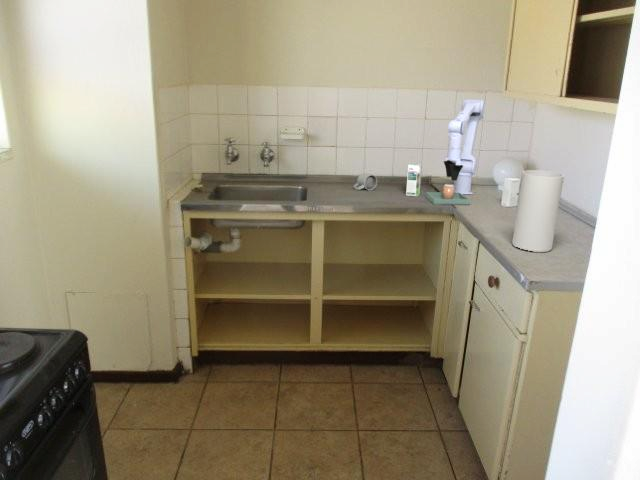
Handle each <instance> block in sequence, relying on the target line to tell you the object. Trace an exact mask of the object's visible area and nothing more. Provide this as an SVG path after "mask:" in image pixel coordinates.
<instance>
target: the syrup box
mask: <svg viewBox="0 0 640 480" xmlns="http://www.w3.org/2000/svg"><path fill="white" fill-rule="evenodd" d="M422 167H423V164H417V163H416V164H415V163H409V164H408V165H407V175H406V191H405V196H409V197H419V195H420V193H421V192H420V190H421V184H422V183H421V181H422V172H423V171H422V170H423V169H422Z"/></svg>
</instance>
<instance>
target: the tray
mask: <svg viewBox="0 0 640 480" xmlns="http://www.w3.org/2000/svg"><path fill="white" fill-rule="evenodd" d="M425 198H426V200H428V201H429V202H430V203H431V204H432V205H435V206H437V205H438V206H470V201H471V199H470V198H468V197H467V196H465V194H461V193H455V192H454V195H453V199H443V192H437V191H436V192H434V191H432V192H431V191H427V192H425Z"/></svg>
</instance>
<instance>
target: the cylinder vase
mask: <svg viewBox="0 0 640 480" xmlns="http://www.w3.org/2000/svg"><path fill="white" fill-rule="evenodd" d="M521 173H522V174H521V178H520V187H519V195H518V202H517V206H516V215H515V221H514V229H513V235H512V242H511V243H512V245H513V246H514V247H515V248H516V247H518V248H520V249H519V250H521V249H524V250H528V251H527V252H529V251H533V252H532V253H547V252H550V251H551V250H552V248H553V244H554V237H555V231H556V227H557V226H556V225H557V220H558V215H559V208H560V203H561V197H562V192H563V191H562V190H563V185H564V184H563V183H564V180H565V175H564V174H563V173H560V172H556V171H551V170H550V171H548V170H541V169H540V170H536V169H528V170H523V171H522V172H521ZM518 248H517V249H518ZM524 250H523V251H524Z"/></svg>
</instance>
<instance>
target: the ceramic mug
mask: <svg viewBox="0 0 640 480" xmlns="http://www.w3.org/2000/svg"><path fill="white" fill-rule="evenodd" d="M377 186H378V179H377V176H376V175H374V174H370V173H361V174H359V175H358V176H357V179H356V183H355V184H354V185H353V190H355V191H360V190H362V189H365V190H366V191H373V190H375V188H376V187H377Z"/></svg>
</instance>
